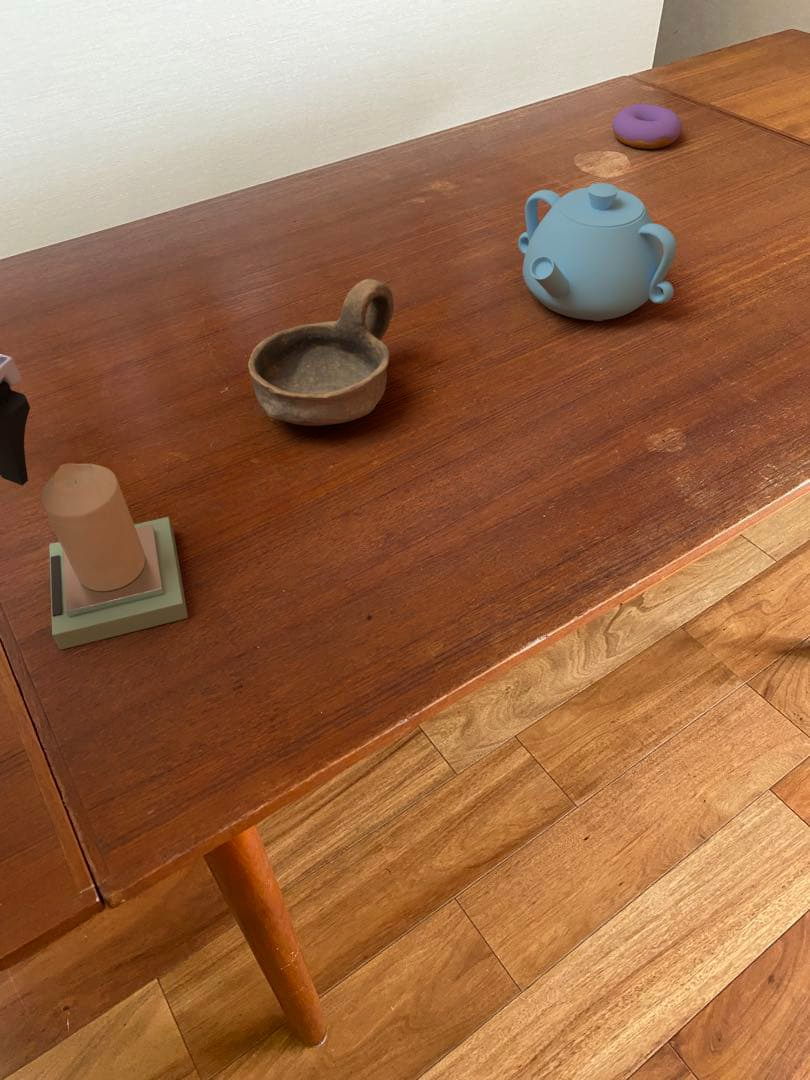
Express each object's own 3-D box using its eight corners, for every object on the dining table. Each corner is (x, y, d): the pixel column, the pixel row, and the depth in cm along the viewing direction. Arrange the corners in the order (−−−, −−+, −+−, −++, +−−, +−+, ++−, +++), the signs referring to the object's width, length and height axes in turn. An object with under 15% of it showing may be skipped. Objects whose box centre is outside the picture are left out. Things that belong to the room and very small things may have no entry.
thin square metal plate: (68, 617, 67) (65, 612, 67) (65, 550, 72) (62, 544, 71) (164, 594, 68) (162, 588, 68) (154, 529, 73) (152, 524, 73)
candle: (65, 563, 70) (20, 472, 63) (126, 530, 72) (90, 439, 65) (95, 603, 67) (53, 513, 60) (158, 568, 69) (125, 476, 62)
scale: (60, 650, 67) (50, 633, 66) (56, 559, 74) (48, 542, 72) (188, 618, 69) (182, 601, 68) (173, 532, 76) (167, 514, 74)
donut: (597, 139, 127) (605, 103, 124) (626, 132, 133) (635, 97, 130) (658, 156, 122) (668, 119, 119) (686, 148, 128) (696, 112, 125)
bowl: (226, 413, 87) (206, 328, 79) (345, 334, 96) (337, 251, 88) (324, 471, 81) (312, 384, 73) (442, 381, 89) (442, 295, 82)
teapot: (698, 293, 99) (725, 185, 90) (608, 378, 89) (628, 266, 79) (552, 242, 108) (562, 139, 98) (455, 314, 98) (456, 207, 88)
